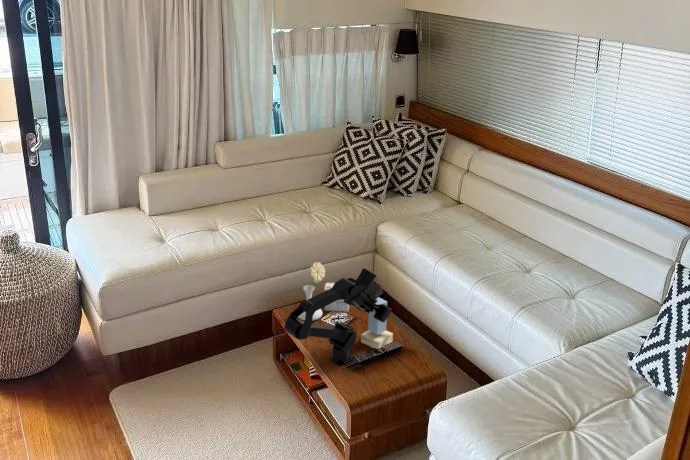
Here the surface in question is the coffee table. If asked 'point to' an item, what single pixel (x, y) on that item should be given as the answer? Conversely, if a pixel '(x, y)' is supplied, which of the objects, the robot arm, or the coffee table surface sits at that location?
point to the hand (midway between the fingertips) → (380, 314)
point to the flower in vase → (317, 275)
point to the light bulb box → (336, 305)
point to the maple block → (376, 339)
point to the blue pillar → (375, 324)
